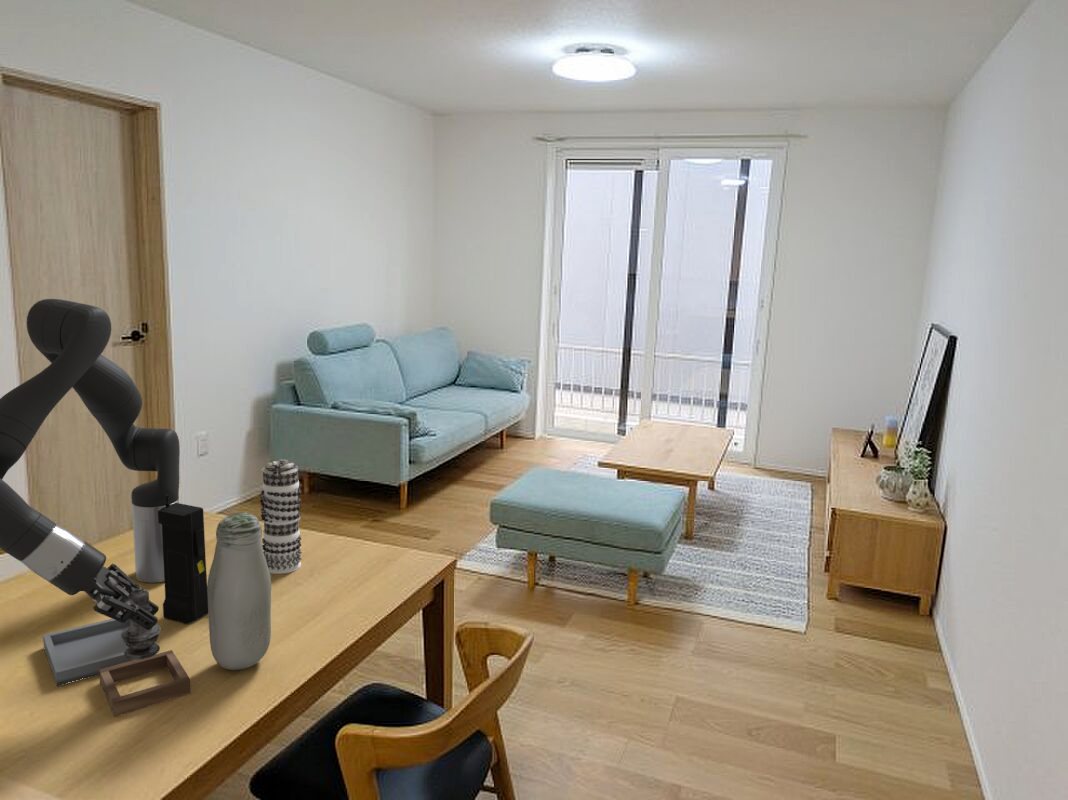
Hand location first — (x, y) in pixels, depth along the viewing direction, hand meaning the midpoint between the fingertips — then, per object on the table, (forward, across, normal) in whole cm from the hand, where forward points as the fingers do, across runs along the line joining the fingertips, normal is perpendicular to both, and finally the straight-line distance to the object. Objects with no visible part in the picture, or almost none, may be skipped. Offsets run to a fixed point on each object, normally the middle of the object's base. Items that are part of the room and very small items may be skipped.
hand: (154, 618), depth 127 cm
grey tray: (+2, +14, +16) cm, 21 cm away
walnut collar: (+7, 0, +10) cm, 12 cm away
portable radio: (+12, +24, +6) cm, 28 cm away
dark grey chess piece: (+3, 0, +6) cm, 6 cm away
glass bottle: (+18, +2, -1) cm, 18 cm away
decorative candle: (+27, +43, -8) cm, 51 cm away
